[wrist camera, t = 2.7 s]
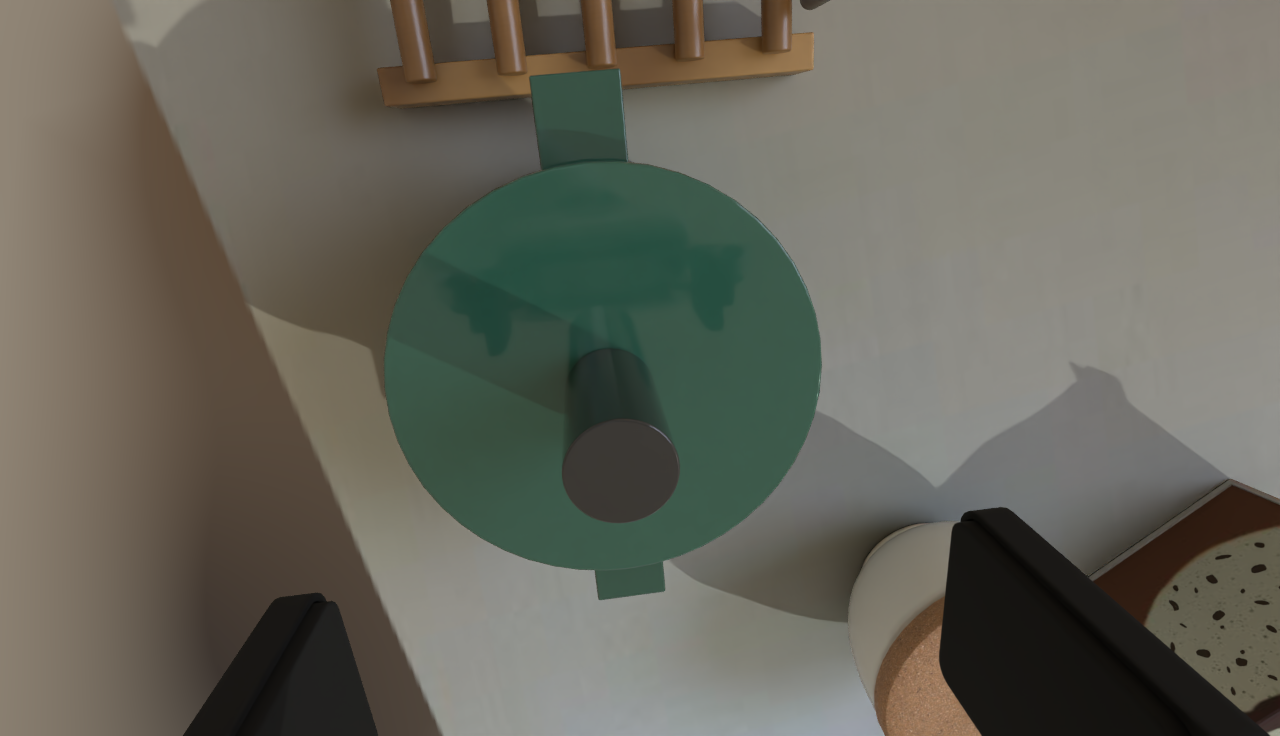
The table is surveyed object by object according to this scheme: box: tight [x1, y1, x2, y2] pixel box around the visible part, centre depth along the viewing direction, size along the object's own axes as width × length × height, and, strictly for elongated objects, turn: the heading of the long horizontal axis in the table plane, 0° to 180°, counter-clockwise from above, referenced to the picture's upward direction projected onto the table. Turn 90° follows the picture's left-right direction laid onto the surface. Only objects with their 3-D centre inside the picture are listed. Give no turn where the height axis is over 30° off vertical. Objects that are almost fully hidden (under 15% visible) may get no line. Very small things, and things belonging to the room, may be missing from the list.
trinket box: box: [848, 521, 982, 736], centre depth 29 cm, size 11×11×9 cm
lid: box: [384, 160, 822, 570], centre depth 17 cm, size 13×13×6 cm
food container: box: [1088, 479, 1280, 736], centre depth 30 cm, size 12×6×10 cm, turn 132°
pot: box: [529, 68, 665, 600], centre depth 23 cm, size 12×17×8 cm
